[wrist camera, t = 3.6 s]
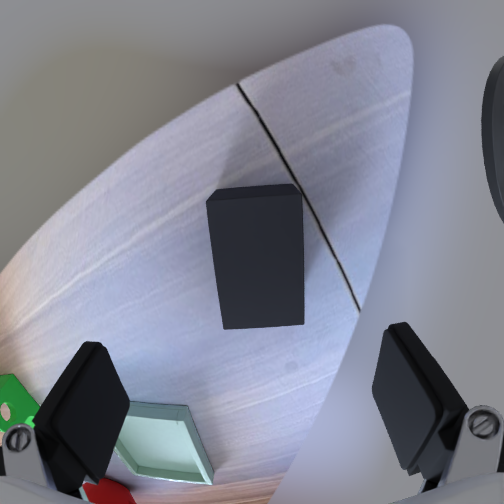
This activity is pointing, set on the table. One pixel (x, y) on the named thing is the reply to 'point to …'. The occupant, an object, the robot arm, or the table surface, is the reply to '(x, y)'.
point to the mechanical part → (16, 402)
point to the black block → (258, 255)
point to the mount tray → (163, 444)
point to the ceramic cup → (107, 493)
